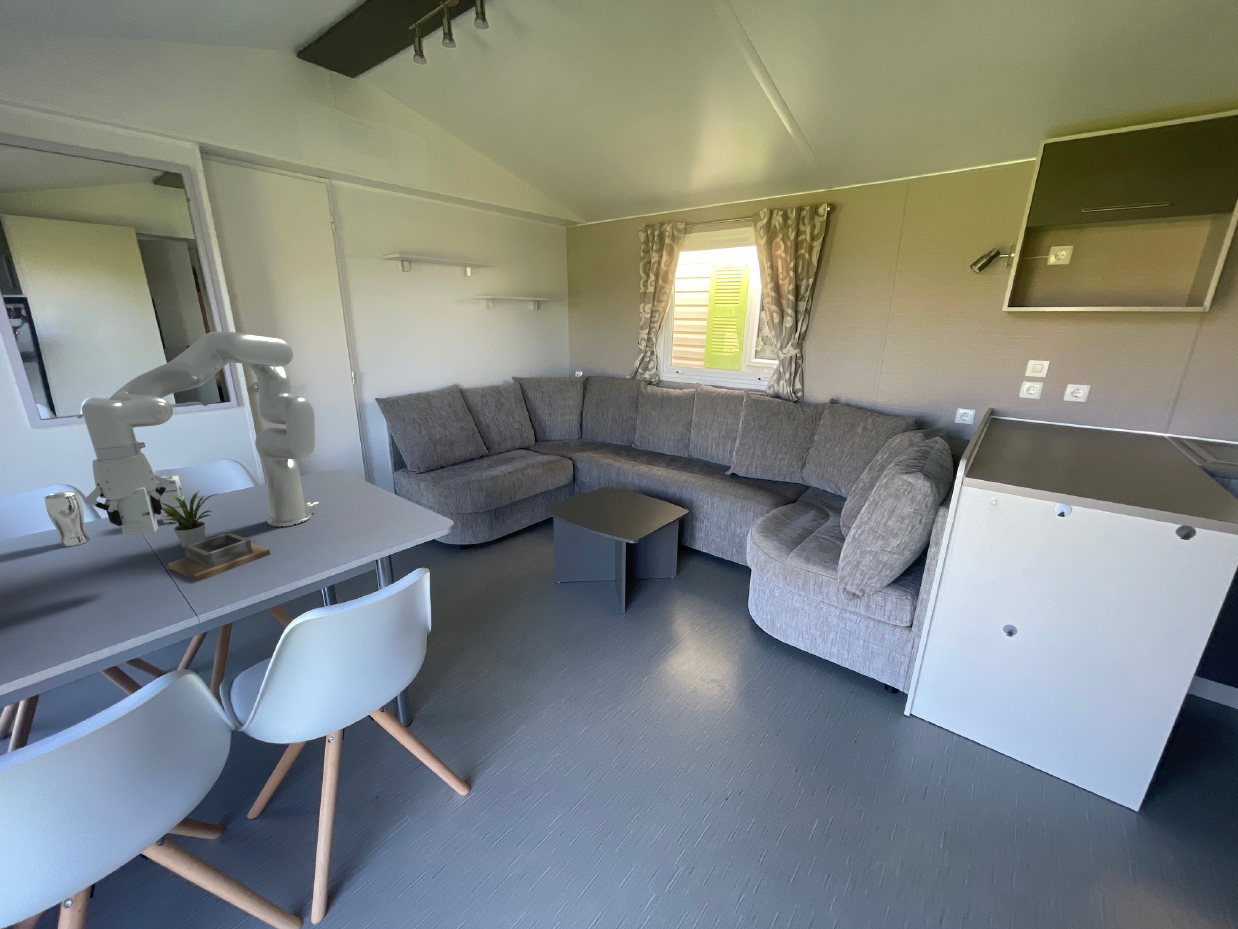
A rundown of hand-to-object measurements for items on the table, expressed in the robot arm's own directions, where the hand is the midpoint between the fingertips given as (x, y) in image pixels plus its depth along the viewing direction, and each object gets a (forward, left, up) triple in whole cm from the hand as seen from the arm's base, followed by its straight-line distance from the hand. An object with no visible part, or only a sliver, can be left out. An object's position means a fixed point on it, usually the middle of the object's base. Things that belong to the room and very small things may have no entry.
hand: (137, 518), depth 126 cm
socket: (-13, +5, -17) cm, 22 cm away
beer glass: (+1, -44, -17) cm, 47 cm away
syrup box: (-22, -40, -17) cm, 49 cm away
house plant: (-16, -13, -17) cm, 27 cm away
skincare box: (0, 0, -4) cm, 4 cm away
